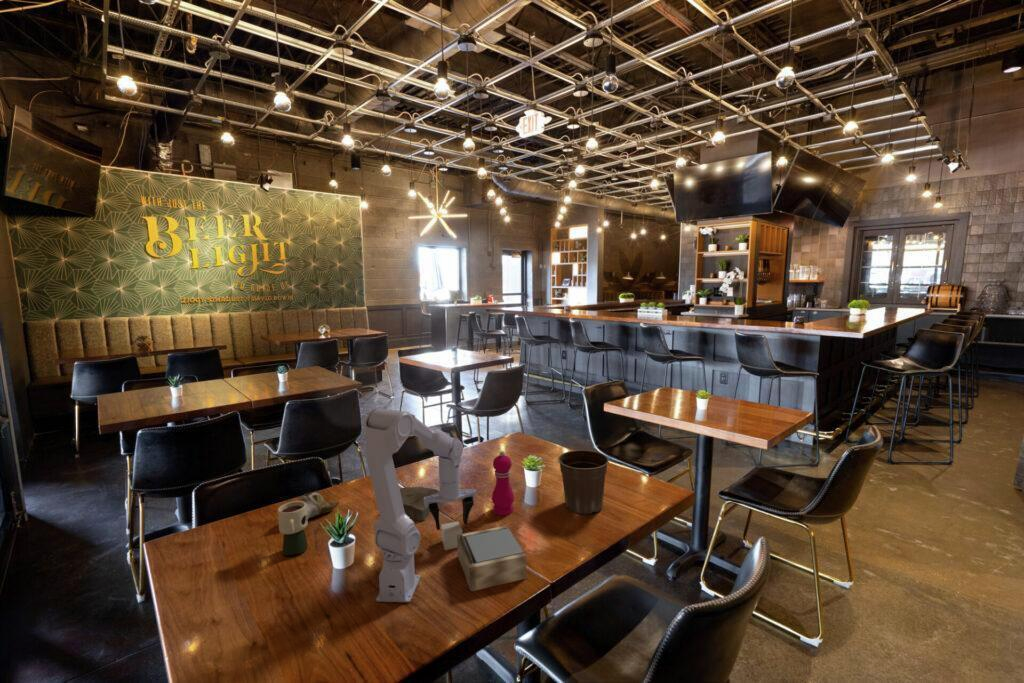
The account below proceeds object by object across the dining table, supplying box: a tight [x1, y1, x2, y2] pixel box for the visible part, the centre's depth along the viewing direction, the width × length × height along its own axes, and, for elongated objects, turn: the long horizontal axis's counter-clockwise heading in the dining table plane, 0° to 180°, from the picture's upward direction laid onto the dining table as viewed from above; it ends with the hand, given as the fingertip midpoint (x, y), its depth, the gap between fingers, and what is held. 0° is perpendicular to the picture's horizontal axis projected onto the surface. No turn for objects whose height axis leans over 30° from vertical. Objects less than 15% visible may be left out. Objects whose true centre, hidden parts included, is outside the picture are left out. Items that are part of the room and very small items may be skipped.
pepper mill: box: [491, 450, 515, 517], centre depth 143 cm, size 7×7×20 cm
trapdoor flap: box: [466, 527, 525, 564], centre depth 115 cm, size 12×12×1 cm
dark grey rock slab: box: [399, 486, 440, 522], centre depth 148 cm, size 17×15×4 cm
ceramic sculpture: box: [299, 491, 340, 521], centre depth 143 cm, size 11×9×15 cm
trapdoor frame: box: [457, 525, 527, 592], centre depth 115 cm, size 14×15×7 cm
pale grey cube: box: [440, 520, 463, 551], centre depth 126 cm, size 5×5×5 cm
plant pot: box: [557, 449, 610, 515], centre depth 146 cm, size 16×16×16 cm
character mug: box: [277, 500, 309, 556], centre depth 124 cm, size 11×7×13 cm, turn 22°
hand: (451, 525), depth 126 cm, fingers open, 7 cm apart
